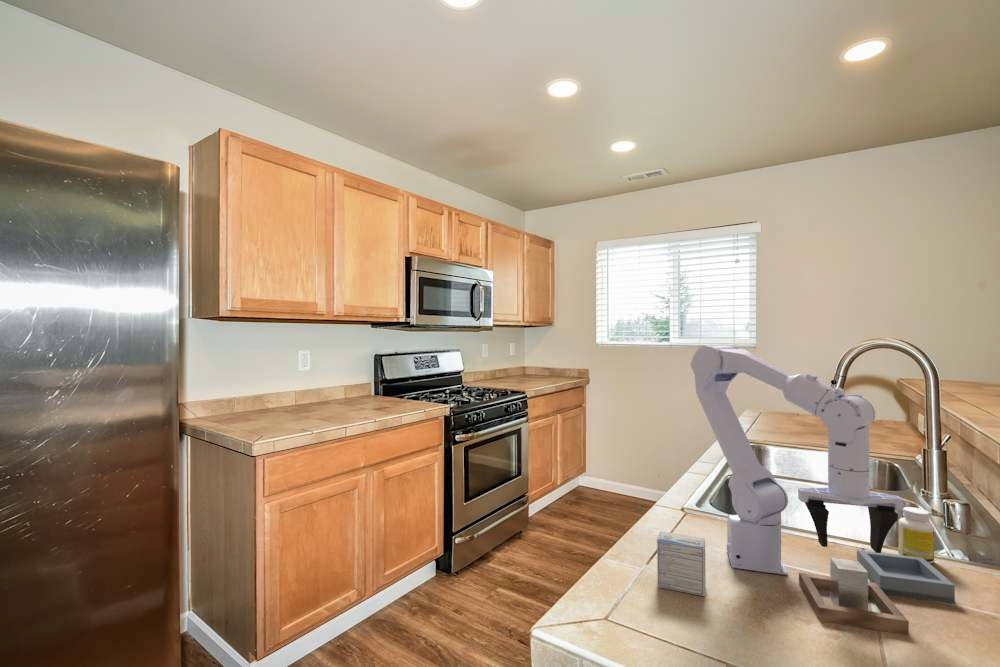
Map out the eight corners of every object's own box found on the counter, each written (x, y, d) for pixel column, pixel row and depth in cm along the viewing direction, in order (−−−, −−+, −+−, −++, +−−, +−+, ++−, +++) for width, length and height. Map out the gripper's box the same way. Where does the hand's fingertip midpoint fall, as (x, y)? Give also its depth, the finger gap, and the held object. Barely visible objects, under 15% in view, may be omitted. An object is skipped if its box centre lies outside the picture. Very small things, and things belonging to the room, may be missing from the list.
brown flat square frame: (819, 619, 75) (818, 607, 75) (798, 583, 86) (798, 572, 86) (908, 634, 72) (908, 621, 72) (875, 594, 83) (875, 583, 83)
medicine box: (705, 585, 86) (705, 537, 86) (705, 598, 82) (704, 547, 82) (659, 576, 89) (659, 530, 89) (656, 587, 85) (656, 539, 85)
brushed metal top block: (838, 611, 78) (838, 568, 78) (830, 598, 82) (830, 557, 82) (868, 616, 76) (867, 572, 76) (858, 602, 80) (858, 561, 80)
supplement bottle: (941, 566, 92) (941, 516, 92) (909, 564, 94) (908, 514, 94) (922, 554, 98) (922, 506, 98) (892, 551, 99) (892, 504, 99)
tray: (880, 592, 83) (880, 575, 83) (857, 565, 93) (856, 549, 93) (954, 603, 80) (954, 585, 80) (922, 573, 90) (922, 557, 90)
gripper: (806, 470, 79) (807, 551, 79) (912, 477, 75) (913, 564, 75) (794, 459, 86) (795, 534, 86) (891, 465, 82) (891, 545, 82)
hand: (848, 547), depth 81 cm, fingers open, 7 cm apart
